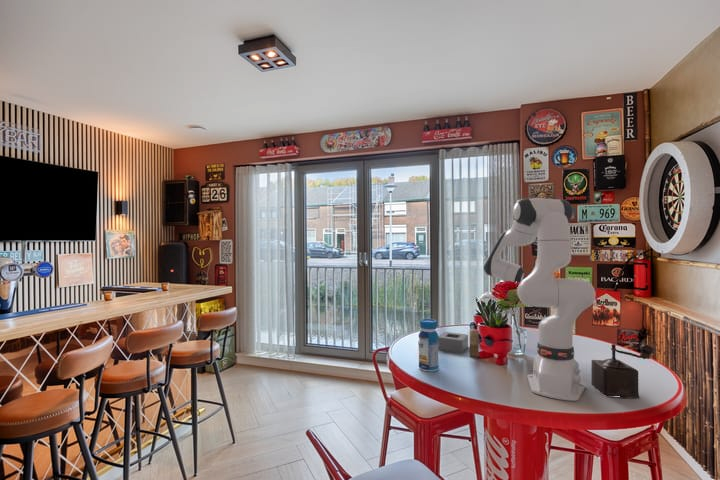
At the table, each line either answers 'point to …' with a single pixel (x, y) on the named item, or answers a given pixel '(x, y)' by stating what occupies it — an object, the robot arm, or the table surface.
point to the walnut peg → (474, 343)
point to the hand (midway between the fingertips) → (490, 317)
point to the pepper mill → (618, 374)
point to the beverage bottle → (428, 345)
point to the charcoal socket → (453, 342)
